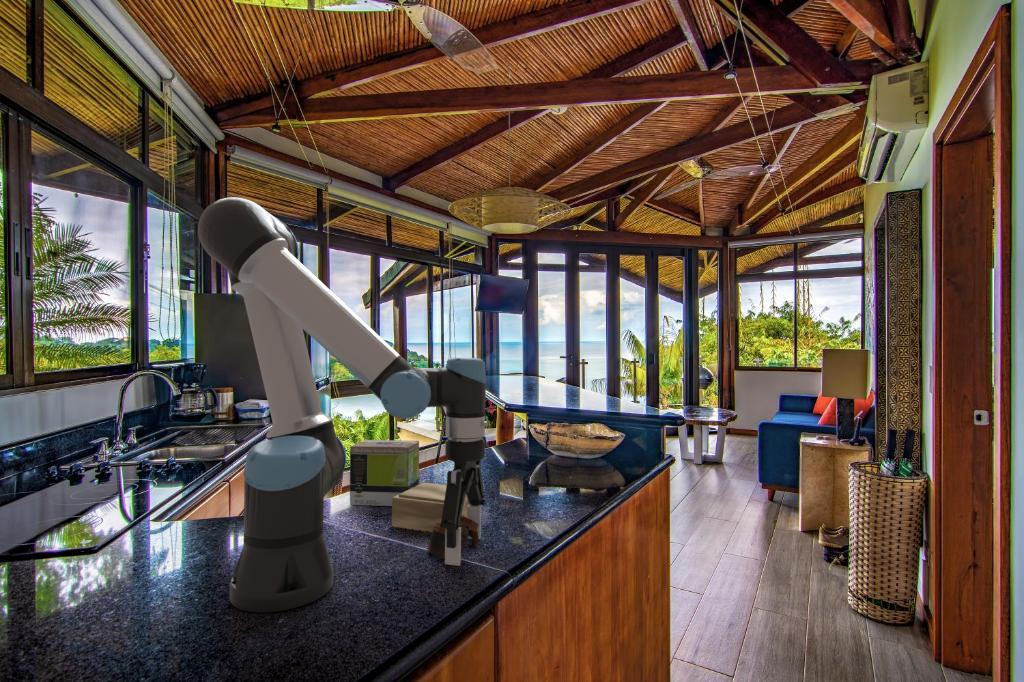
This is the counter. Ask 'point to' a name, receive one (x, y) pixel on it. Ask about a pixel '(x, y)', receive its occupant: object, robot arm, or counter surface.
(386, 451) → the tea box
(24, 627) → the counter surface
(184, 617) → the counter surface
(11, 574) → the counter surface
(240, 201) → the robot arm
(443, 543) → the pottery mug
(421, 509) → the wooden box
